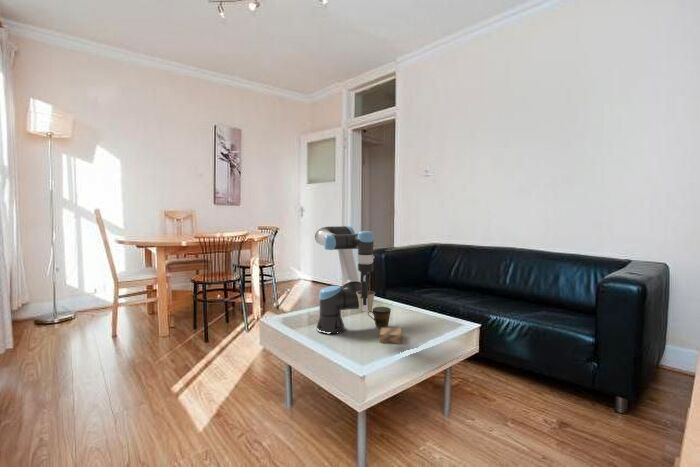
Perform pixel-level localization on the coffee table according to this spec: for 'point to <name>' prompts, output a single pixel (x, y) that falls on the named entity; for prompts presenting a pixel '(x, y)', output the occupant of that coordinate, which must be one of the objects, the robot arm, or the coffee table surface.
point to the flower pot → (370, 299)
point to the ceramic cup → (381, 316)
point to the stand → (390, 335)
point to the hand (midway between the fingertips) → (365, 308)
